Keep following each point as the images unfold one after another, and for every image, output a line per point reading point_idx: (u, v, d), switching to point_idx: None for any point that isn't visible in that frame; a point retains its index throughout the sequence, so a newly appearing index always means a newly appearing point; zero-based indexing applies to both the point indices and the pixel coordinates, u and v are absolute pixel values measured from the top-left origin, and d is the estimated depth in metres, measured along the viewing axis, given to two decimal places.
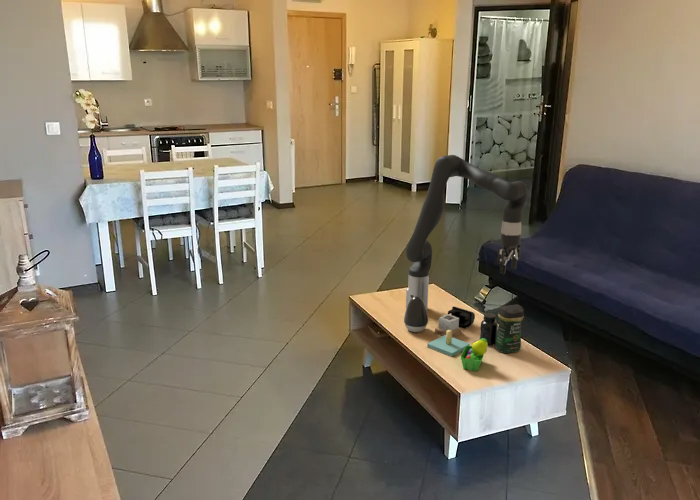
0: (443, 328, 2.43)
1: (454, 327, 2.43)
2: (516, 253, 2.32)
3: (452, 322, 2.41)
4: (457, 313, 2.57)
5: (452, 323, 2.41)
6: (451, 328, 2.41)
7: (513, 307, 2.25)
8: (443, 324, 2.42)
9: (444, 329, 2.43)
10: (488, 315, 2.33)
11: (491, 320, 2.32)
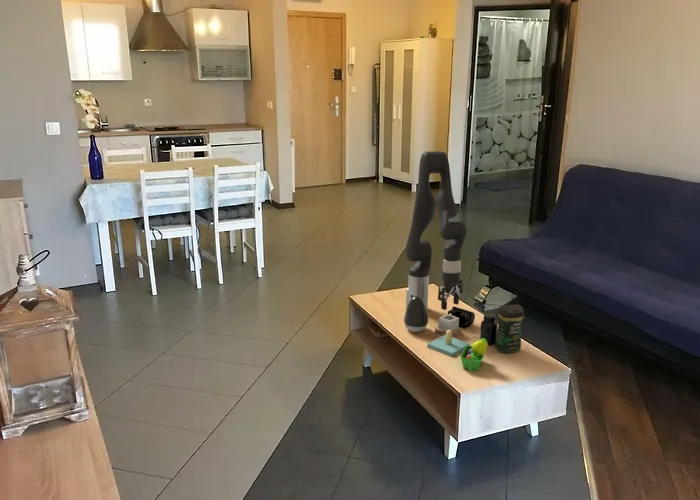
0: (443, 328, 2.43)
1: (454, 327, 2.43)
2: (457, 289, 2.41)
3: (452, 322, 2.41)
4: (457, 313, 2.57)
5: (452, 323, 2.41)
6: (451, 328, 2.41)
7: (513, 307, 2.25)
8: (443, 324, 2.42)
9: (444, 329, 2.43)
10: (488, 315, 2.33)
11: (491, 320, 2.32)
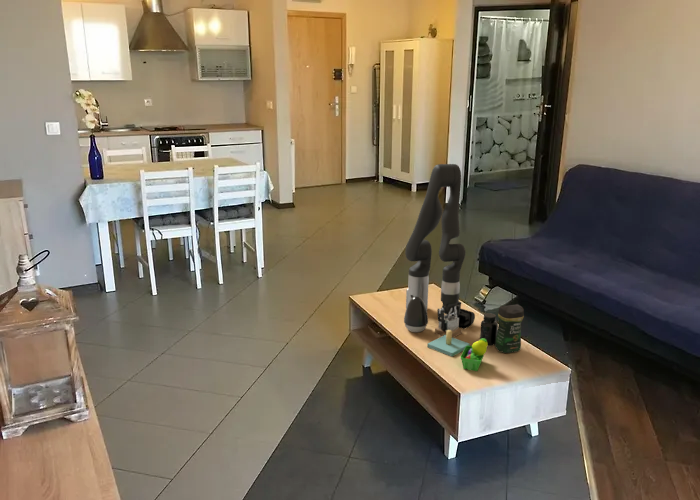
0: None
1: (454, 327, 2.43)
2: (455, 310, 2.43)
3: (452, 322, 2.41)
4: None
5: (452, 323, 2.41)
6: (451, 328, 2.41)
7: (513, 307, 2.25)
8: None
9: None
10: (488, 315, 2.33)
11: (491, 320, 2.32)
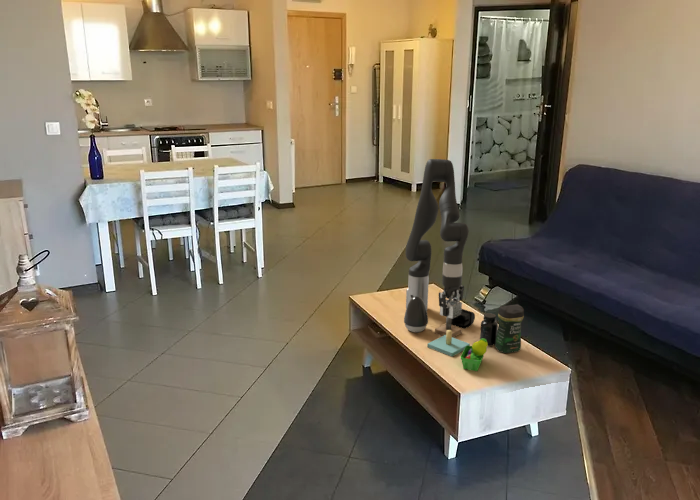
0: None
1: (457, 312, 2.26)
2: (458, 295, 2.27)
3: (454, 307, 2.24)
4: None
5: (455, 308, 2.25)
6: (454, 314, 2.25)
7: (513, 307, 2.25)
8: None
9: None
10: (488, 315, 2.33)
11: (491, 320, 2.32)
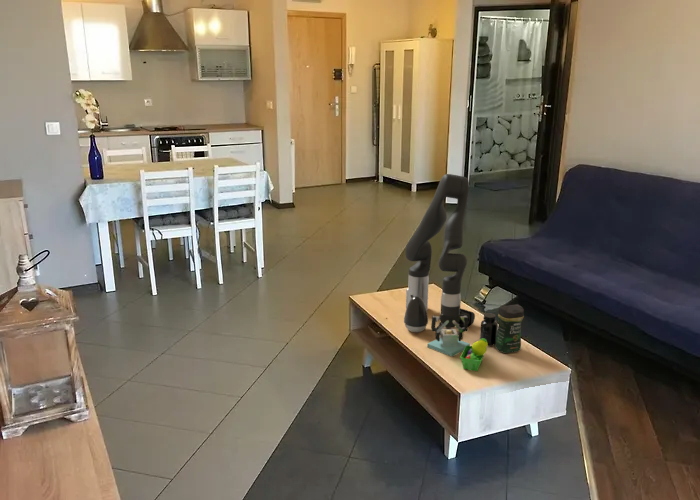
0: (441, 341, 2.32)
1: (450, 343, 2.29)
2: (456, 325, 2.28)
3: (446, 336, 2.28)
4: None
5: (446, 337, 2.28)
6: (445, 343, 2.29)
7: (513, 307, 2.25)
8: (441, 336, 2.32)
9: (441, 342, 2.32)
10: (488, 315, 2.33)
11: (491, 320, 2.32)
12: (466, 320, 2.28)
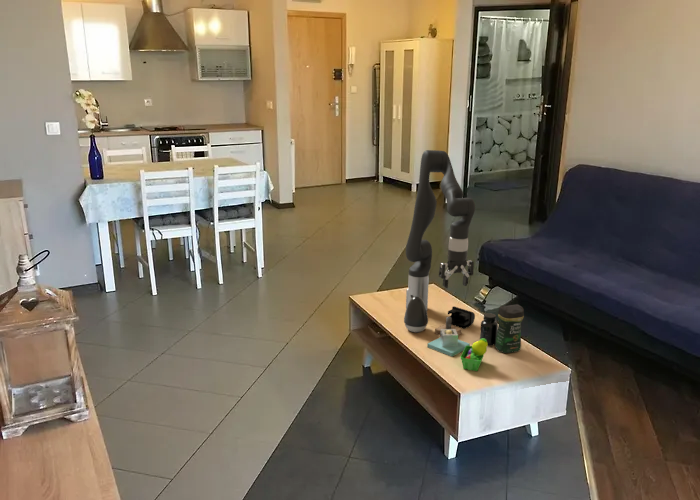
0: (441, 341, 2.32)
1: (450, 343, 2.29)
2: (464, 270, 2.30)
3: (446, 336, 2.28)
4: (457, 313, 2.57)
5: (446, 337, 2.28)
6: (445, 343, 2.29)
7: (513, 307, 2.25)
8: (441, 336, 2.32)
9: (441, 342, 2.32)
10: (488, 315, 2.33)
11: (491, 320, 2.32)
12: (472, 264, 2.31)
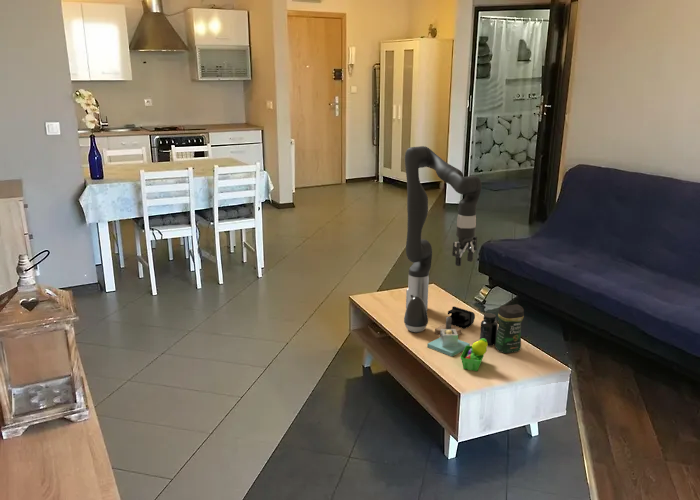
0: (441, 341, 2.32)
1: (450, 343, 2.29)
2: (472, 246, 2.39)
3: (446, 336, 2.28)
4: (457, 313, 2.57)
5: (446, 337, 2.28)
6: (445, 343, 2.29)
7: (513, 307, 2.25)
8: (441, 336, 2.32)
9: (441, 342, 2.32)
10: (488, 315, 2.33)
11: (491, 320, 2.32)
12: (476, 239, 2.41)
